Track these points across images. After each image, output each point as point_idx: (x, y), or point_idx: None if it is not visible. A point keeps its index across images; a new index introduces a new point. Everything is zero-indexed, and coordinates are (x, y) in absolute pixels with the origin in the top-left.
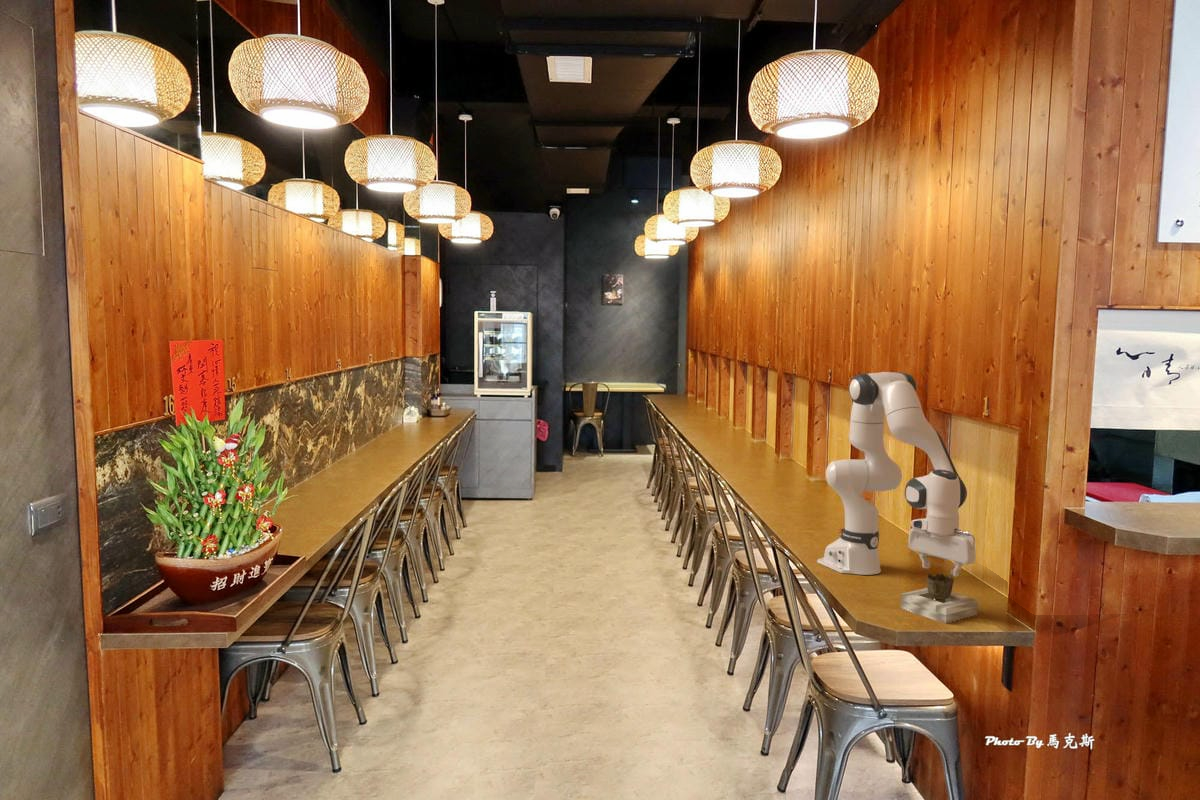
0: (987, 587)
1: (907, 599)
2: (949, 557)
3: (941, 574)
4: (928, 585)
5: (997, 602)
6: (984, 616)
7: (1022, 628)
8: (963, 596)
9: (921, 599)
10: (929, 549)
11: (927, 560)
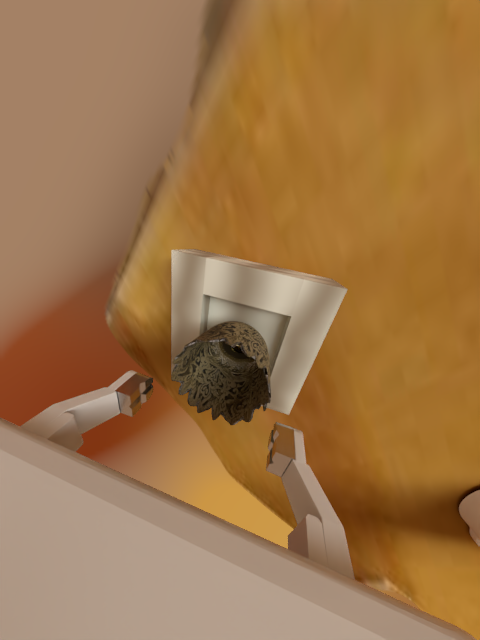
0: (245, 483)
1: (315, 280)
2: (27, 470)
3: (234, 422)
4: (254, 340)
5: (203, 431)
6: None
7: (115, 336)
8: None
9: (263, 279)
10: (214, 630)
11: (284, 486)
